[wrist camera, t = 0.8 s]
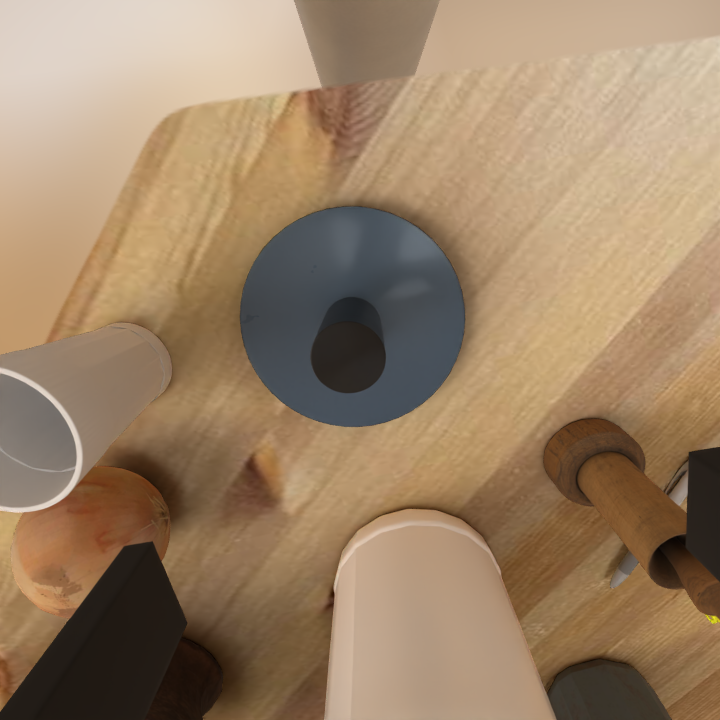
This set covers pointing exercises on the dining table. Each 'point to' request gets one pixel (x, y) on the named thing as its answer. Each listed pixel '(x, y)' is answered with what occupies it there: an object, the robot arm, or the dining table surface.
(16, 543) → the onion
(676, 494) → the pen
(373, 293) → the lid
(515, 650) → the bottle
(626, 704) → the bottle
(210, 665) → the jug
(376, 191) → the dining table surface
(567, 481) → the mortar and pestle
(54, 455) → the cup
